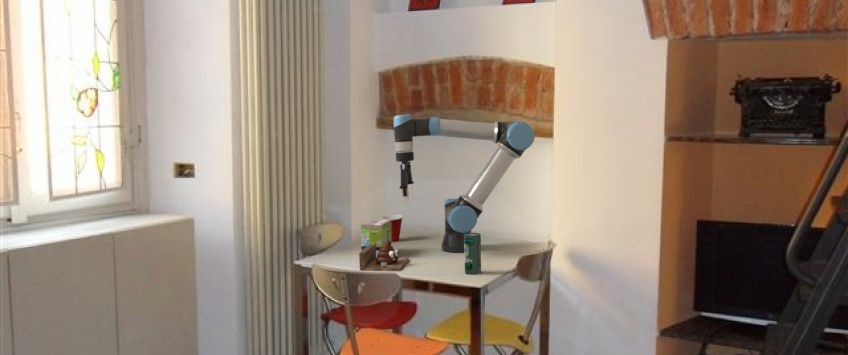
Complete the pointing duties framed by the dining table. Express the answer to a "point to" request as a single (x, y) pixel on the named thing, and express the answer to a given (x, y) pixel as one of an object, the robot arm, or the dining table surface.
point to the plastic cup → (394, 226)
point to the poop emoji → (387, 254)
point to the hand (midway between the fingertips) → (407, 201)
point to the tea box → (375, 233)
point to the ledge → (370, 264)
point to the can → (472, 253)
